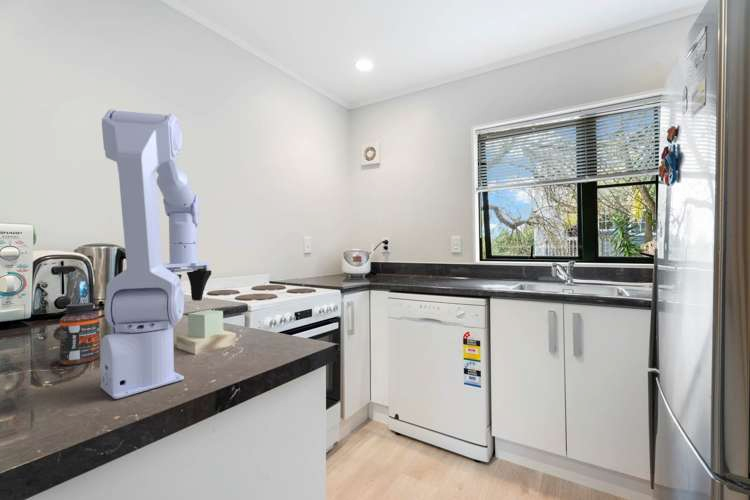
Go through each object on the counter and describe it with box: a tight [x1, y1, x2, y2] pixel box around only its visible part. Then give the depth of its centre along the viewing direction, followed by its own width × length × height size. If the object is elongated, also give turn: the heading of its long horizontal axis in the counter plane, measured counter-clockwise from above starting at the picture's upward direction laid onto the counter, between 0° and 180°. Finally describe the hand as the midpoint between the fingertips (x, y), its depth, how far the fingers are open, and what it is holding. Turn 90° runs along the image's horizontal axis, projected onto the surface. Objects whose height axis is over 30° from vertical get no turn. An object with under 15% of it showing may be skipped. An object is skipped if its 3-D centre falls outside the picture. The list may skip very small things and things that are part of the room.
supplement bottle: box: [59, 302, 101, 366], centre depth 68 cm, size 6×6×11 cm
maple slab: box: [176, 329, 237, 355], centre depth 77 cm, size 9×9×3 cm
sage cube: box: [187, 309, 224, 338], centre depth 77 cm, size 5×5×5 cm
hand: (184, 302), depth 79 cm, fingers open, 7 cm apart
